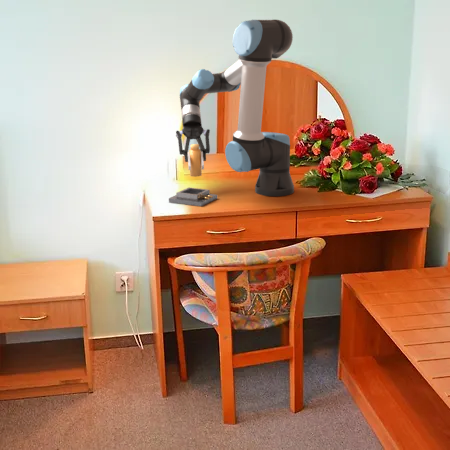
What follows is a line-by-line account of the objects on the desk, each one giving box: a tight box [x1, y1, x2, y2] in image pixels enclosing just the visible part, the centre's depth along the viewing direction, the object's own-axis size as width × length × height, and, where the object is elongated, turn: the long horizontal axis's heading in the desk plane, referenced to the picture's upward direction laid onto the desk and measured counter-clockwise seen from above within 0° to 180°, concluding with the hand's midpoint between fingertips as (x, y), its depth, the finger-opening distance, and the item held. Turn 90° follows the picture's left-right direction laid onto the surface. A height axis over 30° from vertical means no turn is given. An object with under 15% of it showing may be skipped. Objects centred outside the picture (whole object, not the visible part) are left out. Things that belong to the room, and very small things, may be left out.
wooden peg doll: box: [188, 143, 203, 178], centre depth 256 cm, size 4×4×12 cm
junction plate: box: [168, 187, 218, 207], centre depth 248 cm, size 14×12×4 cm
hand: (196, 167), depth 253 cm, fingers closed on wooden peg doll, 4 cm apart
